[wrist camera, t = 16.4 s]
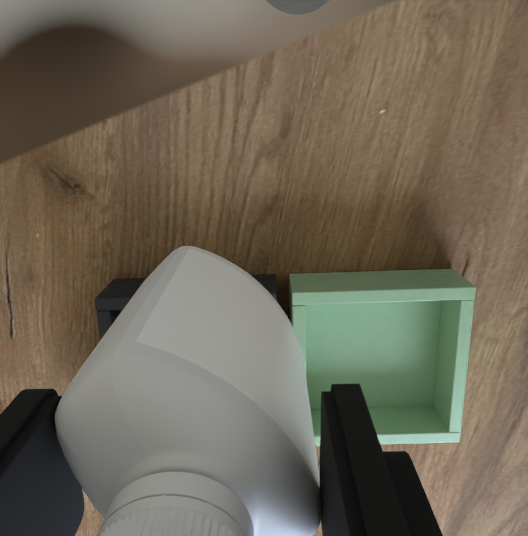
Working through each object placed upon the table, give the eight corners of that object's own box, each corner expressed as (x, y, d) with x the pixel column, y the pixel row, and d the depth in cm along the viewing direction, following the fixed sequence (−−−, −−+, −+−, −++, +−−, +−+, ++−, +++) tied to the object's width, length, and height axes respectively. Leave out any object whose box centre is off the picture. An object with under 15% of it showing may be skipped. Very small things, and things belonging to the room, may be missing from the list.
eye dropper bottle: (264, 218, 15) (251, 561, 4) (309, 370, 17) (400, 937, 5) (135, 255, 15) (-254, 669, 4) (191, 400, 17) (34, 984, 6)
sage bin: (288, 273, 31) (291, 292, 27) (452, 268, 31) (476, 286, 27) (291, 414, 34) (294, 447, 31) (440, 410, 34) (460, 442, 30)
